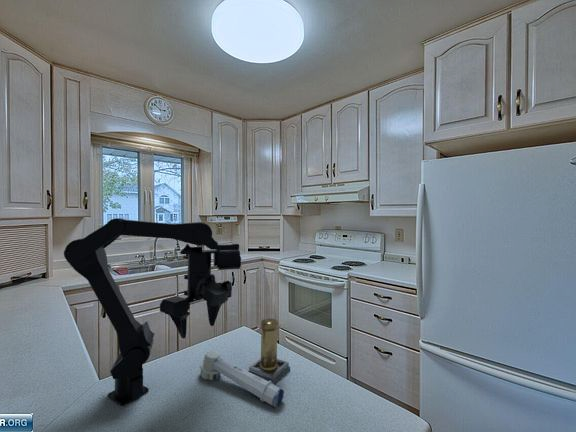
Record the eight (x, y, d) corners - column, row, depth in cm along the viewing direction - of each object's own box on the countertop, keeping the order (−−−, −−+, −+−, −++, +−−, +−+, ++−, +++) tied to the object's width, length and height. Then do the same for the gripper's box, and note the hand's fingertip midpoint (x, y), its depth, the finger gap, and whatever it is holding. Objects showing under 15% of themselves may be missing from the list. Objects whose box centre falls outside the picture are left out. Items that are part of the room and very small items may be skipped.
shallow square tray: (247, 375, 75) (247, 367, 75) (265, 361, 82) (265, 354, 82) (273, 385, 70) (273, 376, 70) (289, 370, 77) (290, 362, 77)
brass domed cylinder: (256, 368, 76) (257, 321, 76) (269, 362, 79) (270, 317, 79) (267, 376, 73) (268, 326, 73) (280, 369, 76) (281, 322, 76)
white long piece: (274, 396, 60) (197, 350, 73) (270, 424, 61) (194, 373, 74) (286, 383, 65) (212, 342, 78) (282, 410, 65) (209, 365, 78)
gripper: (191, 282, 59) (189, 355, 59) (247, 268, 75) (246, 326, 75) (158, 275, 65) (157, 342, 65) (217, 264, 81) (216, 318, 81)
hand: (198, 331), depth 71 cm, fingers open, 9 cm apart
